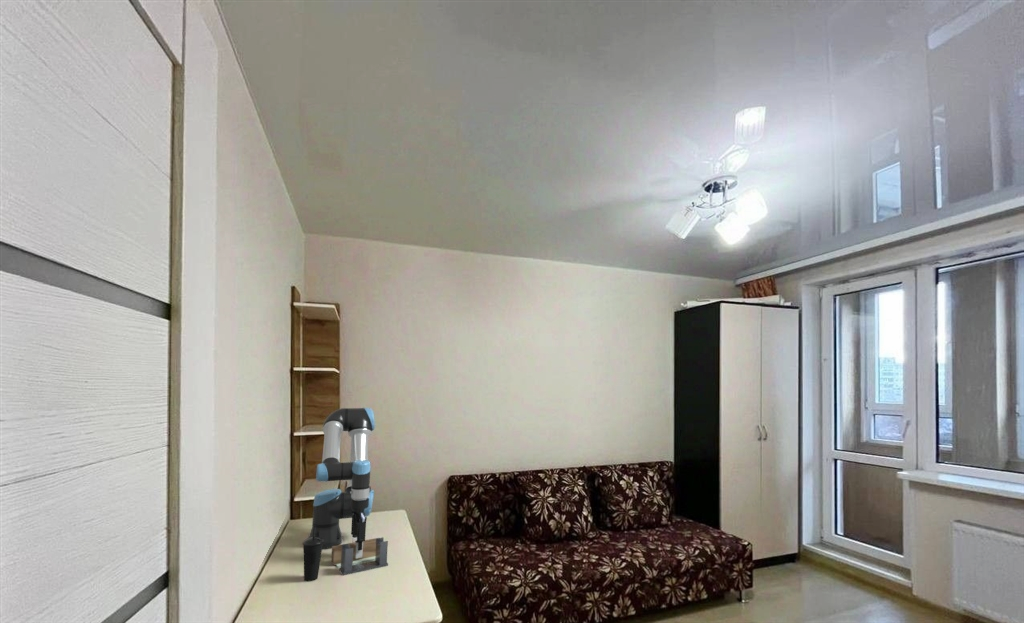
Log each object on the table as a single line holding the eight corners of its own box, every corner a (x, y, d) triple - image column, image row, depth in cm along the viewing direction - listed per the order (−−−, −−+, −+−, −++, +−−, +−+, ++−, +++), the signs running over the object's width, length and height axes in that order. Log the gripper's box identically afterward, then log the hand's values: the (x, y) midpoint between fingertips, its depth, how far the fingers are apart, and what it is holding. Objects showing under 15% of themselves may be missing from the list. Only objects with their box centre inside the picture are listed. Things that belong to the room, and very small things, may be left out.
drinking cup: (326, 576, 184) (329, 522, 187) (311, 584, 177) (315, 527, 180) (310, 573, 187) (313, 520, 189) (295, 581, 180) (299, 525, 182)
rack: (339, 570, 190) (340, 545, 191) (383, 560, 200) (384, 537, 201) (343, 575, 185) (344, 549, 186) (388, 565, 195) (389, 541, 196)
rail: (331, 561, 197) (332, 546, 198) (378, 552, 208) (379, 537, 209) (333, 564, 194) (334, 549, 195) (381, 554, 205) (382, 540, 206)
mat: (332, 560, 200) (332, 559, 200) (374, 552, 209) (374, 550, 210) (337, 567, 192) (337, 566, 192) (381, 558, 202) (381, 557, 202)
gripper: (345, 494, 209) (342, 550, 206) (357, 504, 195) (353, 564, 192) (362, 492, 213) (359, 547, 210) (375, 501, 199) (372, 560, 196)
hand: (357, 555), depth 201 cm, fingers open, 4 cm apart
